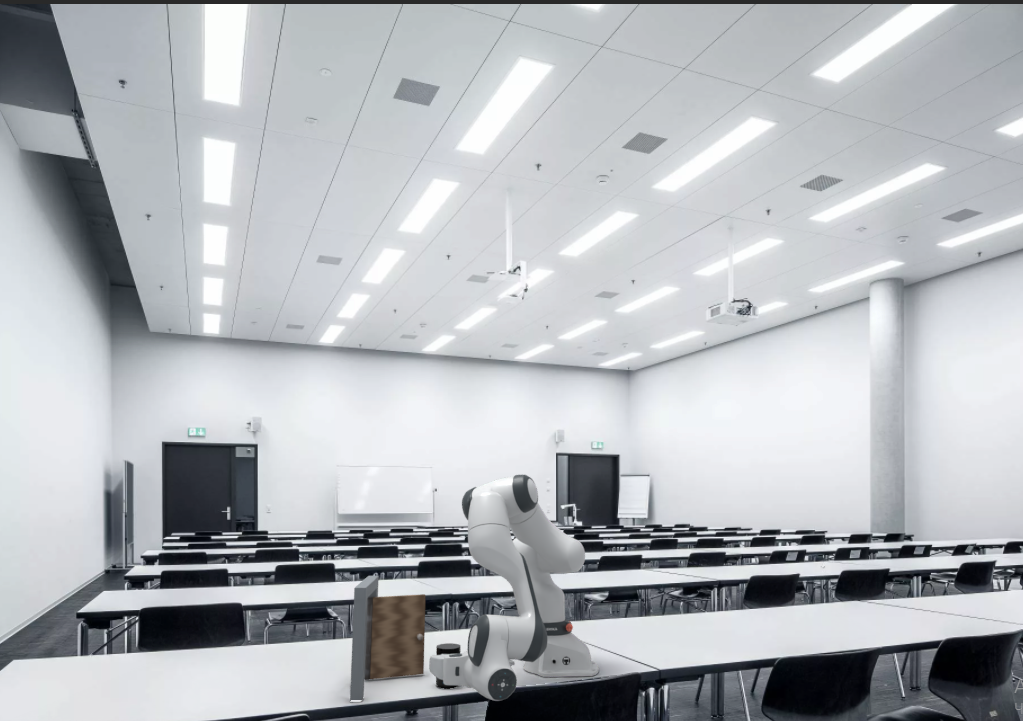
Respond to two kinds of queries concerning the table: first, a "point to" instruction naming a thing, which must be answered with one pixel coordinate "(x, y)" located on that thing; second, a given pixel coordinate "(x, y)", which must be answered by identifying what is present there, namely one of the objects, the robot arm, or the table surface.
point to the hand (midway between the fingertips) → (460, 655)
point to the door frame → (360, 634)
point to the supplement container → (446, 649)
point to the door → (395, 636)
